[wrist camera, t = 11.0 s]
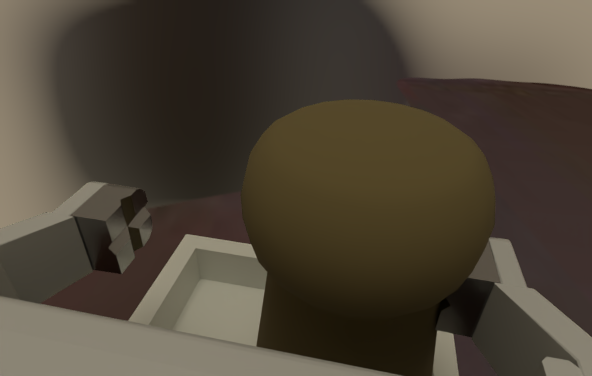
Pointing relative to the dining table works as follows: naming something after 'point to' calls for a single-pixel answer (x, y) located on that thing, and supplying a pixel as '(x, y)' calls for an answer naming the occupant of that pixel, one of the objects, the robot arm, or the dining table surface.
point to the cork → (364, 230)
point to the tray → (227, 297)
